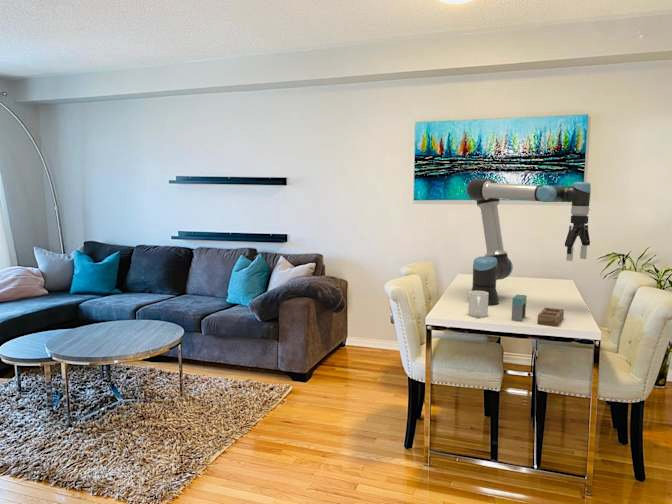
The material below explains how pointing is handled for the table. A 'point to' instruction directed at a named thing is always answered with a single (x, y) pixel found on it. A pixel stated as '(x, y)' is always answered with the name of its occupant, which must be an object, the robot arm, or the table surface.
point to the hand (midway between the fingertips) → (576, 259)
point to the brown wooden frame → (550, 316)
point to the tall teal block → (519, 307)
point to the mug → (478, 303)
